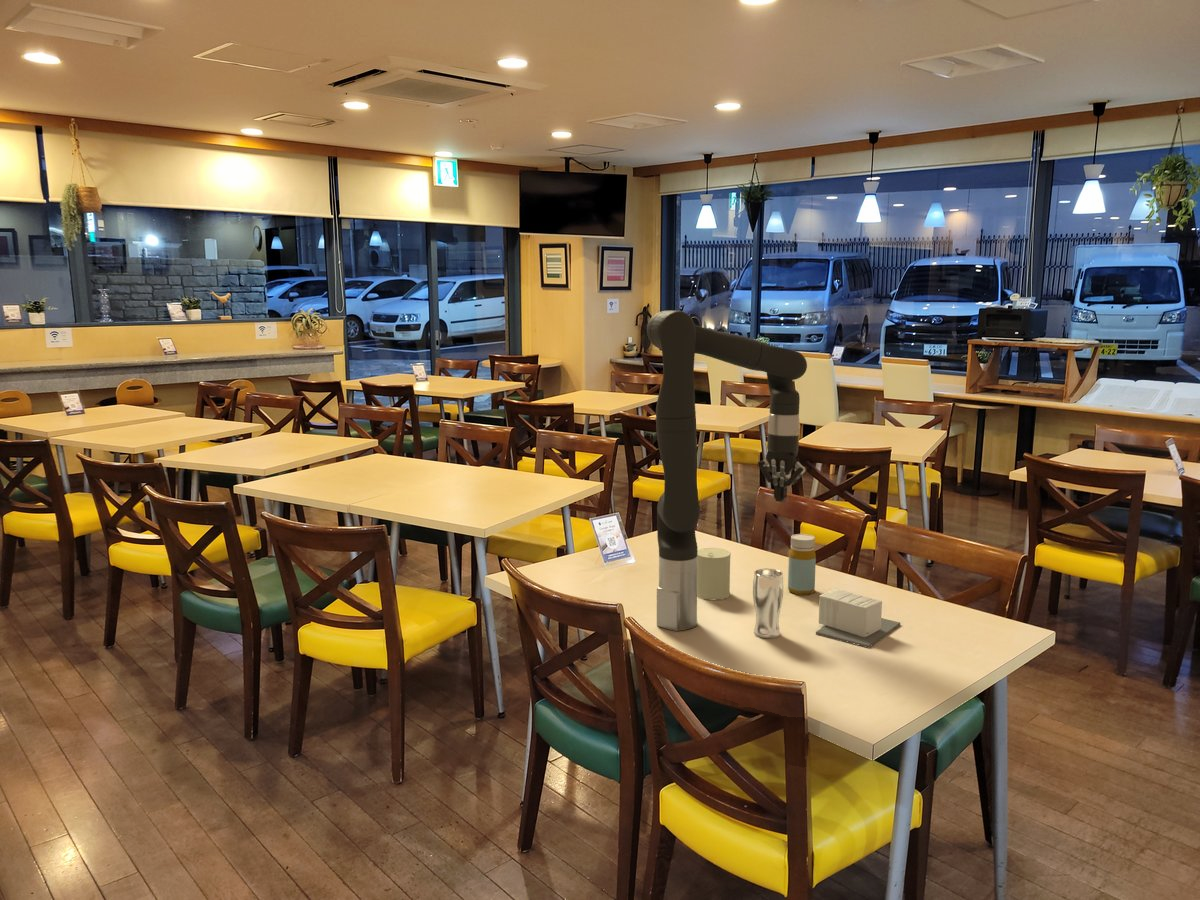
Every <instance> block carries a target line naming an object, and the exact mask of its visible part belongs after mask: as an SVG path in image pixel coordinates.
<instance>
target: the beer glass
mask: <svg viewBox="0 0 1200 900" xmlns="http://www.w3.org/2000/svg"><path fill="white" fill-rule="evenodd" d="M753 573H754V574H753V580H752V597H753V598H752V599H753V604H754V605H753V606H754V612H755V624H754V629H753V634H754V636H756V637H758V638H761V639H776V638H778V637H780V635H781V631H780V625H779V623H780V621H779V620H780V613H781V608H782V604H783V598H784V578H783V577H784V575H783V574H784V573H783V571H781V570H778V569H775V568H768V567H767V568H758V569H756V570H754V571H753Z"/></svg>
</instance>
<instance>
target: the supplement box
mask: <svg viewBox="0 0 1200 900" xmlns="http://www.w3.org/2000/svg"><path fill="white" fill-rule="evenodd" d="M818 600H819V601H818V602H819V603H818V604H819V605H818V607H819V608H818V624H820V625H823V626H829V627H832V628H835V629H839V630H842V631H845V632H848V633H851V634H855V635H858V636H861V637H864V638H865V637H867V636H869V635H871V634H873V633H875V632H876V631H878V630H880V629H881V618H882V614H883V613H882V611H883V610H882V609H883V601H882V600H880V599H876V598H873V597H869V596H866V595H865V596H864V595H862V594H857V593H854V592H851V591H847V590H844V589H840V588H833V589H832V590H829V591H827V592H825V593H822V594H820V595H819V599H818Z"/></svg>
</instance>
